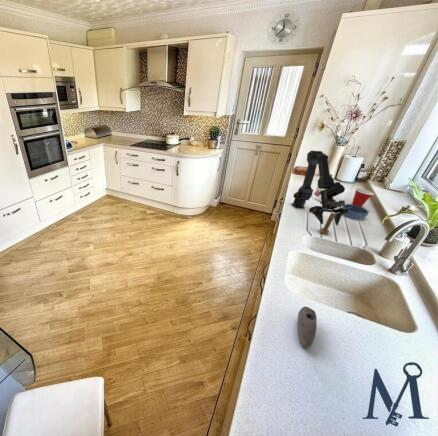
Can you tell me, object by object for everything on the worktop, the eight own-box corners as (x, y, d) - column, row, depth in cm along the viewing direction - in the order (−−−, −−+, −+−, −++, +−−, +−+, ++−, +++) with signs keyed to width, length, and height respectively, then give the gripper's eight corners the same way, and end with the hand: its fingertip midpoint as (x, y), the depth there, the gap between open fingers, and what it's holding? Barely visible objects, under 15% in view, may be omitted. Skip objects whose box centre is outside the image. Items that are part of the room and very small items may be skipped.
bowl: (349, 220, 154) (353, 213, 152) (334, 210, 167) (337, 203, 164) (370, 220, 155) (374, 214, 152) (354, 210, 167) (357, 204, 164)
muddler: (322, 234, 137) (331, 215, 131) (317, 230, 141) (326, 211, 134) (329, 235, 137) (339, 216, 131) (324, 230, 141) (334, 212, 135)
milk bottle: (323, 197, 185) (334, 173, 174) (324, 201, 178) (336, 176, 168) (311, 195, 187) (322, 172, 177) (313, 199, 181) (324, 174, 171)
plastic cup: (369, 209, 169) (378, 194, 163) (352, 207, 171) (360, 192, 165) (360, 203, 178) (368, 188, 172) (345, 201, 180) (352, 187, 174)
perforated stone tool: (310, 356, 74) (319, 344, 71) (292, 347, 76) (300, 334, 73) (311, 322, 85) (319, 309, 82) (295, 315, 88) (302, 302, 84)
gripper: (319, 193, 132) (322, 219, 128) (354, 195, 130) (358, 222, 126) (307, 199, 142) (309, 224, 138) (339, 202, 141) (342, 227, 137)
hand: (329, 224), depth 135 cm, fingers open, 8 cm apart
